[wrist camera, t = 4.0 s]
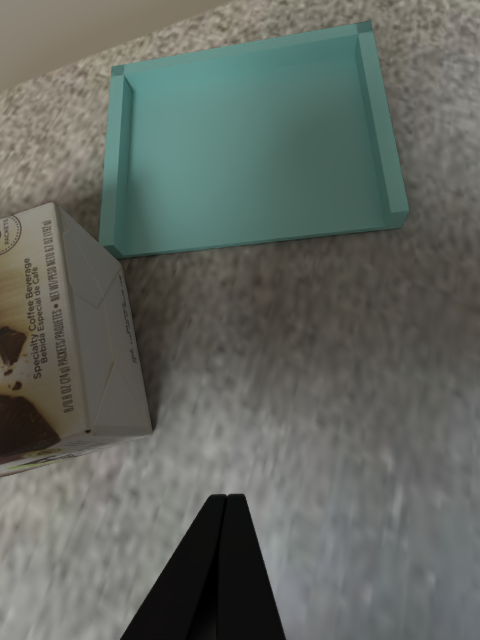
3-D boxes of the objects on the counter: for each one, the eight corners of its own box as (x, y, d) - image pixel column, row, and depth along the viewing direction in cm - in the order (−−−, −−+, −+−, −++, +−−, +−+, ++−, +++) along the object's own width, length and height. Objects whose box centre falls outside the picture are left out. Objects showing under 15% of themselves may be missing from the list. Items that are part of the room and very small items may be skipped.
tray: (400, 227, 19) (409, 210, 17) (111, 259, 21) (98, 246, 19) (366, 47, 22) (370, 20, 21) (122, 88, 24) (111, 66, 23)
